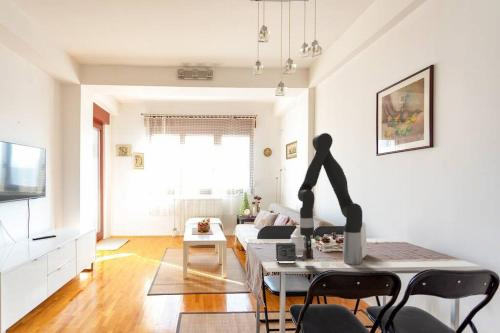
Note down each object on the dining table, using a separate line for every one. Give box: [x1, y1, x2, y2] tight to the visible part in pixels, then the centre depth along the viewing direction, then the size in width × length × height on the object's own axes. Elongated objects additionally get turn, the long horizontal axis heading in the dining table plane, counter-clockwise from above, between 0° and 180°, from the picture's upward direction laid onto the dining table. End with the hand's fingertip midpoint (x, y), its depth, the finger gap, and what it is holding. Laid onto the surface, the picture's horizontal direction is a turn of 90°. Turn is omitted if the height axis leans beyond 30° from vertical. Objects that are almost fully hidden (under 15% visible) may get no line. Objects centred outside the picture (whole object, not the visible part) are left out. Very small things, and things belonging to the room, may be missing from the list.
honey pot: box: [289, 225, 305, 255], centre depth 219 cm, size 13×13×18 cm
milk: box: [342, 220, 368, 259], centre depth 217 cm, size 12×12×26 cm
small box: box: [275, 242, 297, 261], centre depth 202 cm, size 11×6×10 cm, turn 92°
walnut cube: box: [302, 247, 314, 261], centre depth 194 cm, size 5×5×5 cm
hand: (308, 257), depth 194 cm, fingers closed on walnut cube, 5 cm apart
